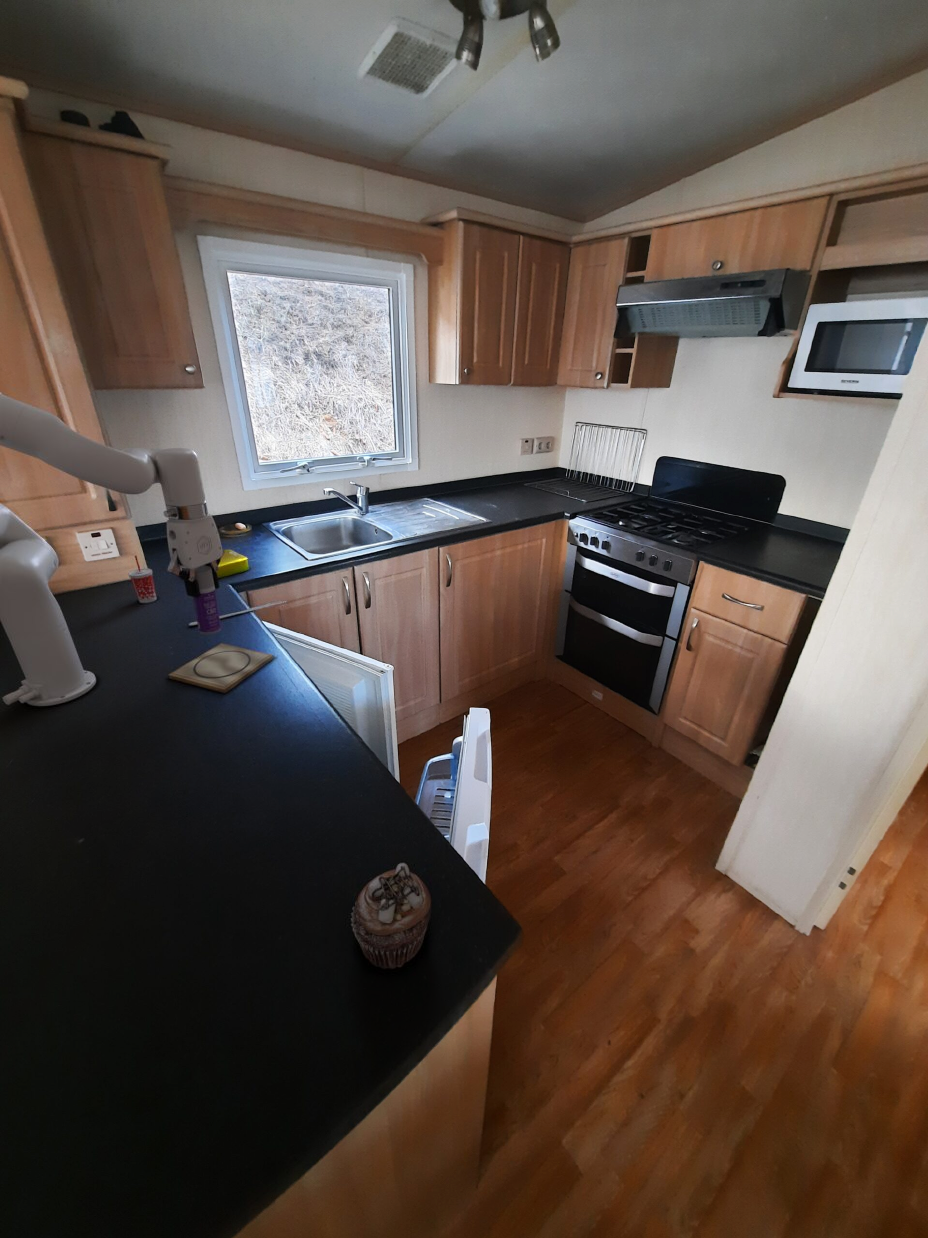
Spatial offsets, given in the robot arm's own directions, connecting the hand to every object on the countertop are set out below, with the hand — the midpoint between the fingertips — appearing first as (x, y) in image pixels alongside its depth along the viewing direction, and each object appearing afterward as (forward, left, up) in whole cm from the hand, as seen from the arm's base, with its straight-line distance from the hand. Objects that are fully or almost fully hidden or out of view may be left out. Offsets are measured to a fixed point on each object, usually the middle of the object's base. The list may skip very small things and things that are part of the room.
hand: (203, 590), depth 113 cm
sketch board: (-2, -3, -19) cm, 19 cm away
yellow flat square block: (+48, +46, -19) cm, 69 cm away
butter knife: (+23, +15, -19) cm, 33 cm away
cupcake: (-44, -69, -19) cm, 84 cm away
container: (0, 0, -10) cm, 10 cm away
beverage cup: (+20, +47, -19) cm, 54 cm away
